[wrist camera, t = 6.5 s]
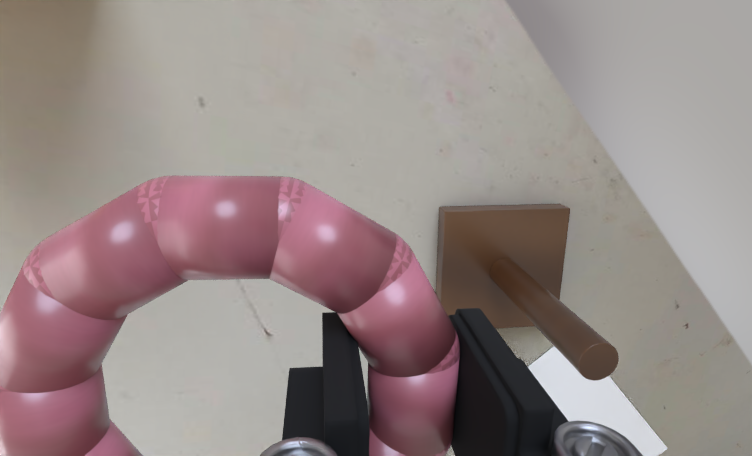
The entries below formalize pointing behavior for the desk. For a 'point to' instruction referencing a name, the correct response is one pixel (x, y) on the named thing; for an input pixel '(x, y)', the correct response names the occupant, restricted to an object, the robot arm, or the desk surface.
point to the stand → (516, 276)
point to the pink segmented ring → (218, 262)
